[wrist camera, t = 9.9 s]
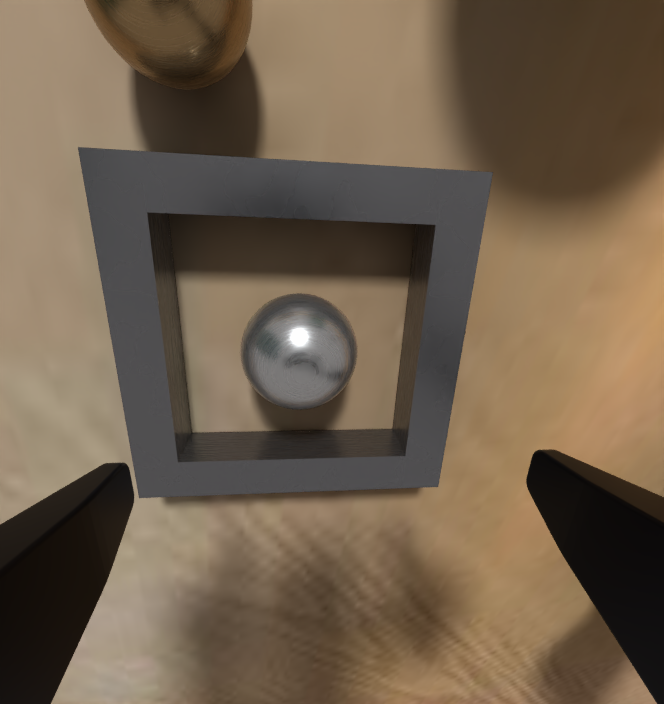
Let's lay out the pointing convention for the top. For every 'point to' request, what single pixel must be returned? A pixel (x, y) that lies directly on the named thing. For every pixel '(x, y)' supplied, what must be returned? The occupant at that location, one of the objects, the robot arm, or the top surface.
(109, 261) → the grey square frame
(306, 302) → the steel ball
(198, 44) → the bronze ball
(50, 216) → the top surface
